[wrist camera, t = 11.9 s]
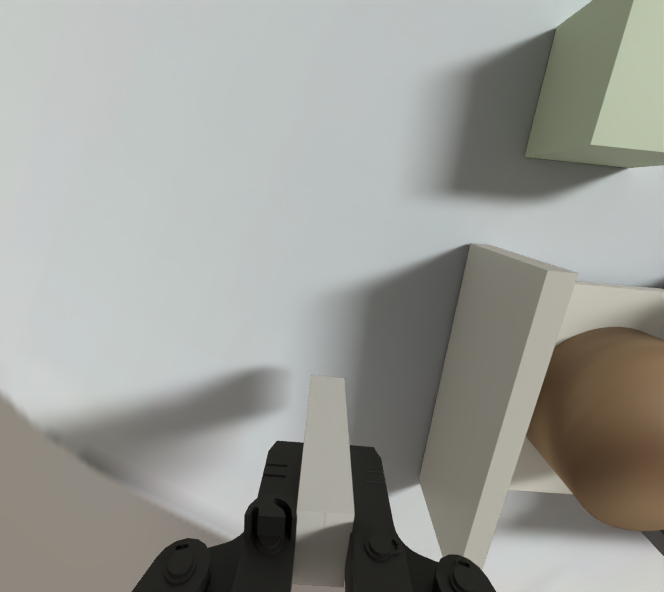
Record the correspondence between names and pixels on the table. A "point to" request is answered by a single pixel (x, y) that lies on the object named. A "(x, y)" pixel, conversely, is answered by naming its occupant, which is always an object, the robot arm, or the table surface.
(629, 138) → the pale green block
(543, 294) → the cream pull-out drawer
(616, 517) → the brown flattened rounded piece
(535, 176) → the table surface
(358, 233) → the table surface
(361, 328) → the table surface
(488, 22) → the table surface
